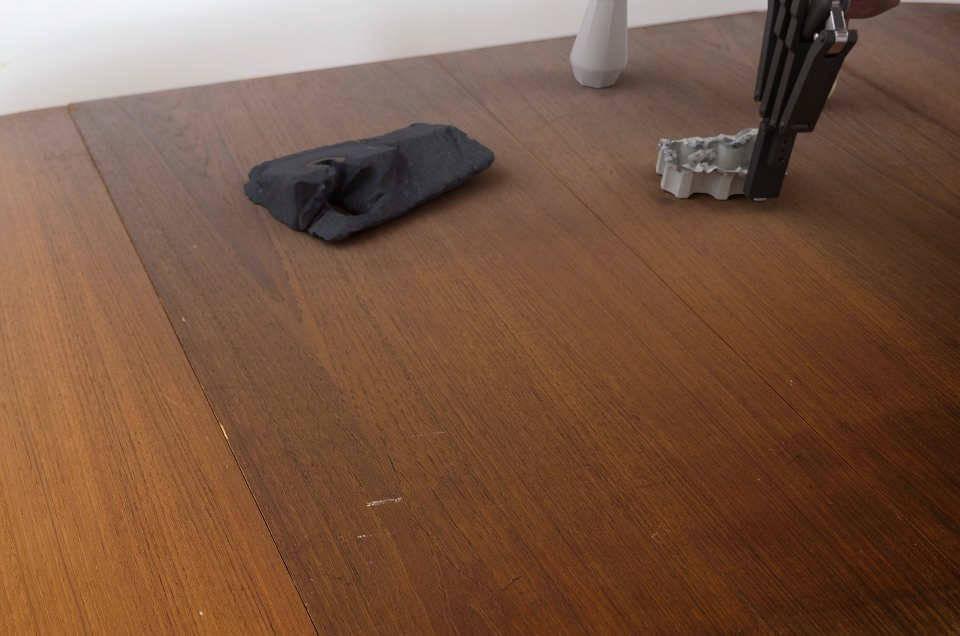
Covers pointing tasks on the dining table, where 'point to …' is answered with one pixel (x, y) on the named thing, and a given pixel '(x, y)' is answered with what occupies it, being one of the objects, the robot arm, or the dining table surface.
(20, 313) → the dining table surface
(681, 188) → the egg carton
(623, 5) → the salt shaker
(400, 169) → the dark slate chunk
